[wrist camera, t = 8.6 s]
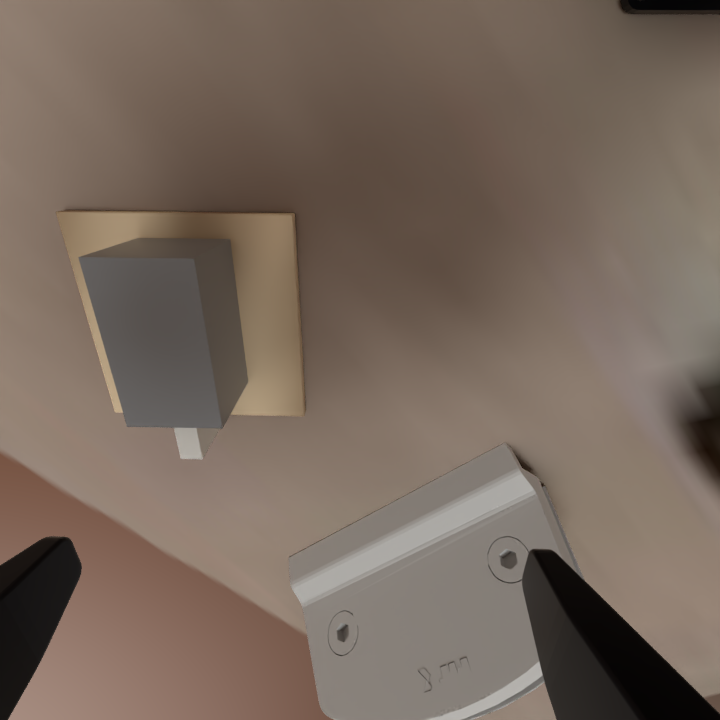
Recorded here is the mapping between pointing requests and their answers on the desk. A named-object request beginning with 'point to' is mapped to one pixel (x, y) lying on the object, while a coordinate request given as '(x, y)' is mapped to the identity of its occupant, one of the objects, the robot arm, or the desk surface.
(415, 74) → the desk surface
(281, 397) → the coaster
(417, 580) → the hinge
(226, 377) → the plug
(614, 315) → the desk surface
